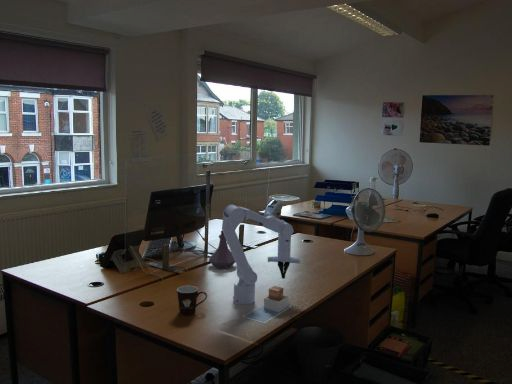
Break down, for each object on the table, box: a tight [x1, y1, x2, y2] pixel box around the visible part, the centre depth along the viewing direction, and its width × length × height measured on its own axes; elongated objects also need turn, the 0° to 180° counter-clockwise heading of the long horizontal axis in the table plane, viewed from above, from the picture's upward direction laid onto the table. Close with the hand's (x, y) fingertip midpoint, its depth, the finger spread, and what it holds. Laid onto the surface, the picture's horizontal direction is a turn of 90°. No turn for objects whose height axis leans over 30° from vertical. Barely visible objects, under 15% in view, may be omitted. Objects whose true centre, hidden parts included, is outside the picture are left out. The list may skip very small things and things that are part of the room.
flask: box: [208, 230, 236, 270], centre depth 254 cm, size 16×16×20 cm
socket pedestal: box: [263, 294, 289, 312], centre depth 197 cm, size 8×8×4 cm
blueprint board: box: [241, 304, 293, 325], centre depth 193 cm, size 22×11×1 cm, turn 146°
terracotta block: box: [268, 285, 284, 301], centre depth 196 cm, size 4×4×5 cm
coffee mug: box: [176, 285, 208, 316], centre depth 191 cm, size 12×9×10 cm
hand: (283, 277), depth 209 cm, fingers closed
